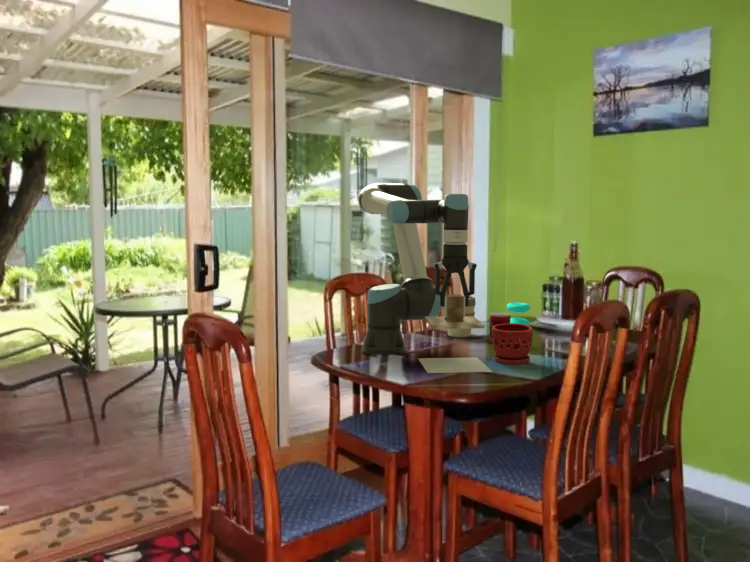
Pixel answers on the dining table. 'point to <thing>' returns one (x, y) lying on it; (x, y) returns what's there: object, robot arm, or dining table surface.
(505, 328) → the plant pot
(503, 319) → the canned food
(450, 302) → the lid
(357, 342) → the dining table surface
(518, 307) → the donuts
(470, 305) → the reusable coffee cup
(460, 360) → the mat
